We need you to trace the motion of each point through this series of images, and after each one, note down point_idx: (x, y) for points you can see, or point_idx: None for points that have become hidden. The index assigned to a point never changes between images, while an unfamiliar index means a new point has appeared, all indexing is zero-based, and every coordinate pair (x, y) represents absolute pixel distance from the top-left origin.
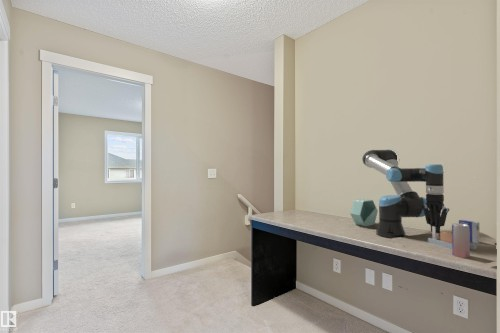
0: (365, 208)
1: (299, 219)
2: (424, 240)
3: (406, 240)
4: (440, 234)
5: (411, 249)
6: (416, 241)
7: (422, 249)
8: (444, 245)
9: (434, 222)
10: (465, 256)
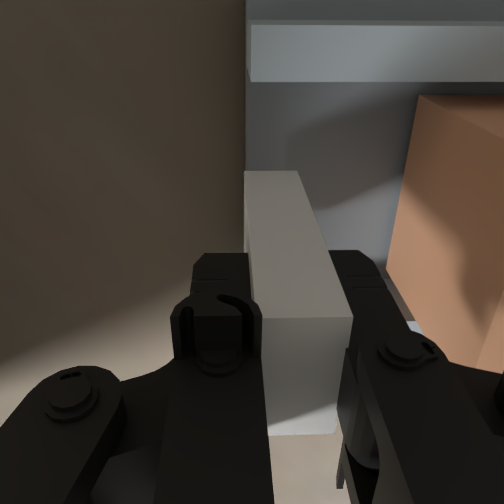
0: None
1: None
2: (58, 151)
3: (19, 357)
4: None
5: (283, 497)
6: (83, 292)
7: (324, 440)
8: None
9: (248, 451)
10: None
